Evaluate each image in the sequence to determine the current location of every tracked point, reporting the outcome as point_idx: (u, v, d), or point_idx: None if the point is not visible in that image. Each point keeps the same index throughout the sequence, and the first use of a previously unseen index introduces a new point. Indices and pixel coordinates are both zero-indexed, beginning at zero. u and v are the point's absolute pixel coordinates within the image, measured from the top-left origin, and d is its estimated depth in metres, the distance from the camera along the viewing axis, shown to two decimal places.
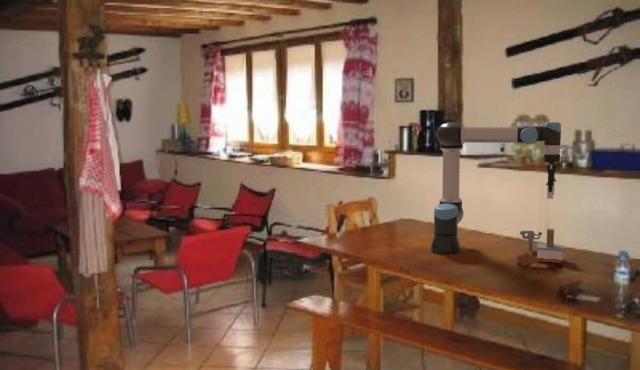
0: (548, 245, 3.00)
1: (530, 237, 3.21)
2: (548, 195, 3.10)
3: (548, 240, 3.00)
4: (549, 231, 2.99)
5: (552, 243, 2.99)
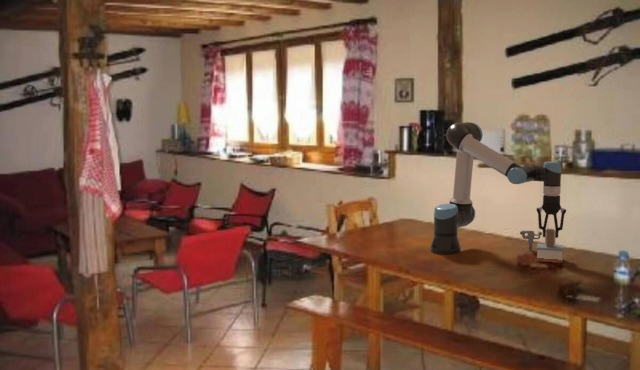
0: (548, 245, 3.00)
1: (530, 237, 3.21)
2: None
3: (548, 240, 3.00)
4: (549, 231, 2.99)
5: (552, 243, 2.99)
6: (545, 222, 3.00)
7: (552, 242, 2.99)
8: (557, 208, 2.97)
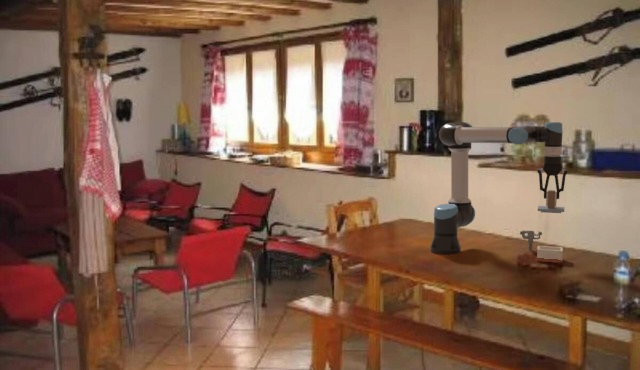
0: (549, 206, 2.98)
1: (530, 237, 3.21)
2: None
3: (549, 201, 2.97)
4: (550, 192, 2.97)
5: (553, 204, 2.97)
6: (546, 183, 2.98)
7: (553, 203, 2.97)
8: (558, 169, 2.95)
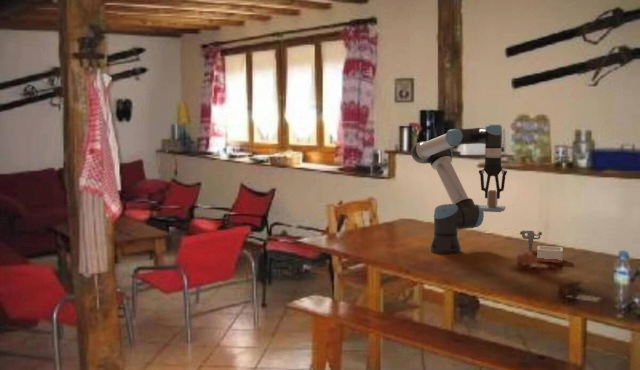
0: (490, 206, 3.08)
1: (530, 237, 3.21)
2: None
3: (490, 201, 3.08)
4: (491, 192, 3.07)
5: (493, 204, 3.08)
6: (487, 183, 3.09)
7: (493, 203, 3.07)
8: (498, 170, 3.06)
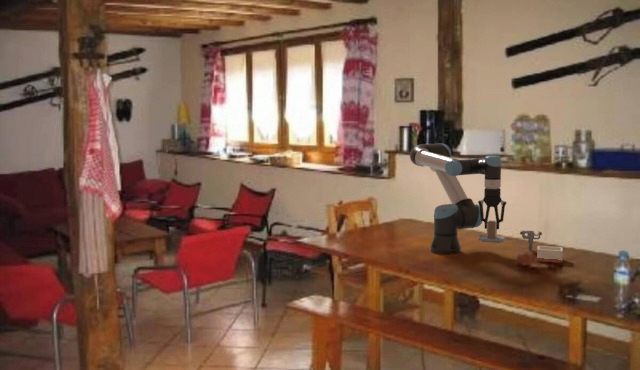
0: (489, 236, 3.10)
1: (530, 237, 3.21)
2: None
3: (489, 231, 3.10)
4: (490, 223, 3.09)
5: (493, 234, 3.09)
6: (486, 214, 3.10)
7: (493, 233, 3.09)
8: (497, 201, 3.08)
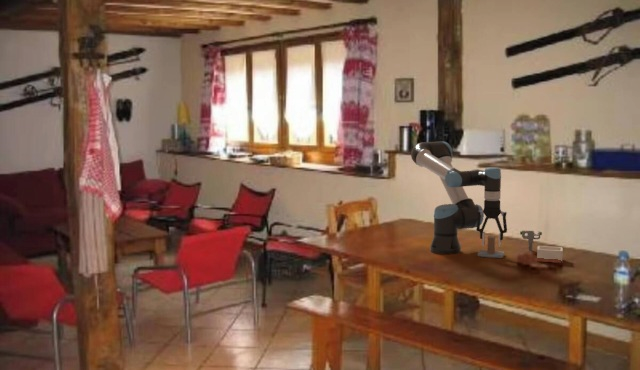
0: (489, 252, 3.11)
1: (530, 237, 3.21)
2: None
3: (489, 247, 3.11)
4: (489, 238, 3.10)
5: (492, 250, 3.11)
6: (483, 225, 3.12)
7: (492, 249, 3.10)
8: (497, 212, 3.09)
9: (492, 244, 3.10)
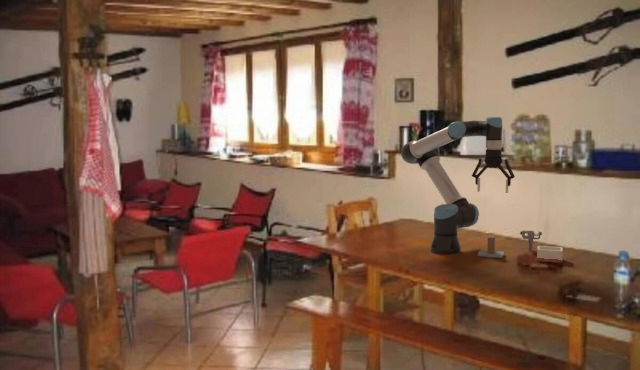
0: (489, 252, 3.11)
1: (530, 237, 3.21)
2: None
3: (489, 247, 3.11)
4: (489, 238, 3.10)
5: (492, 250, 3.11)
6: (481, 172, 3.15)
7: (492, 249, 3.10)
8: (499, 162, 3.11)
9: (492, 244, 3.10)
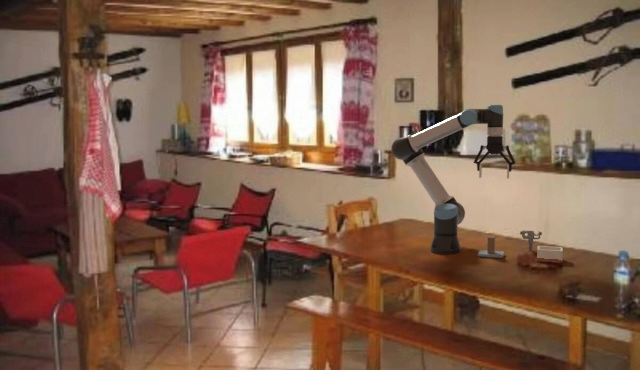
0: (489, 252, 3.11)
1: (530, 237, 3.21)
2: None
3: (489, 247, 3.11)
4: (489, 238, 3.10)
5: (492, 250, 3.11)
6: (482, 158, 3.24)
7: (492, 249, 3.10)
8: (500, 148, 3.20)
9: (492, 244, 3.10)
